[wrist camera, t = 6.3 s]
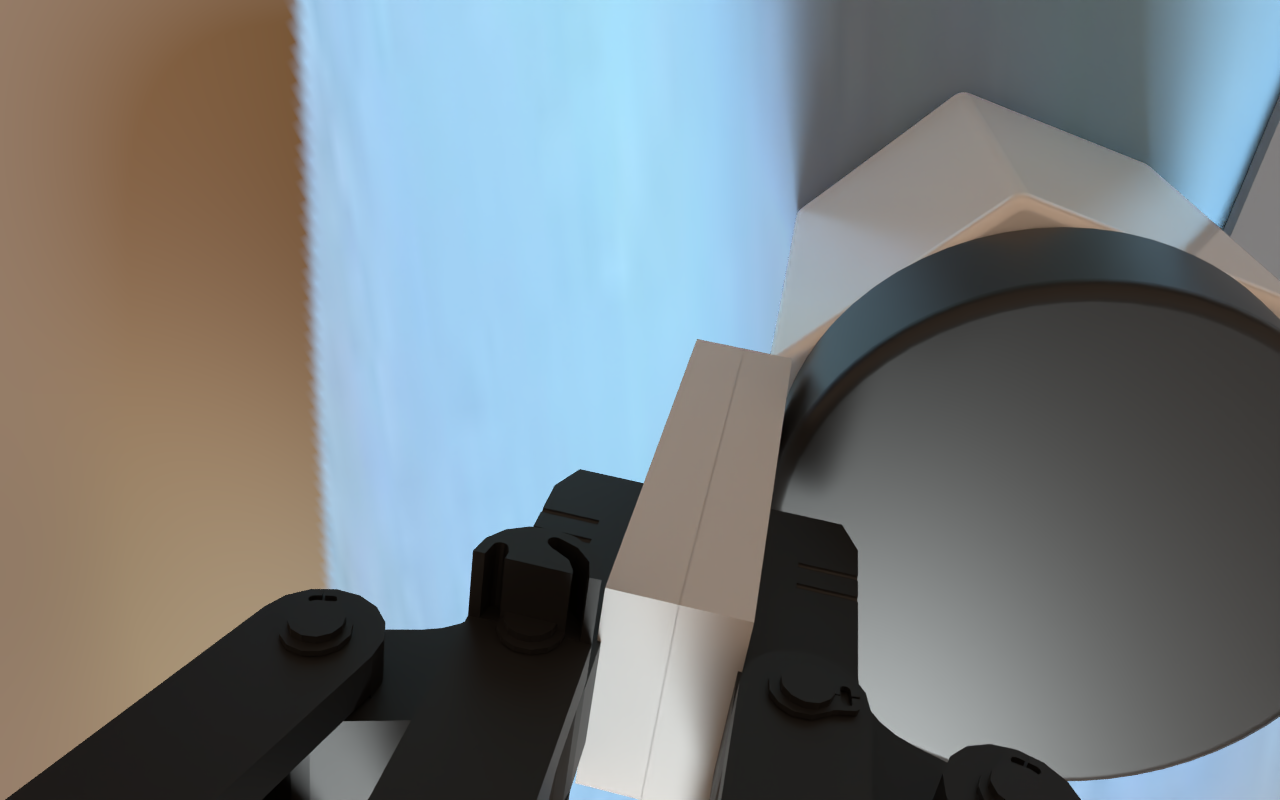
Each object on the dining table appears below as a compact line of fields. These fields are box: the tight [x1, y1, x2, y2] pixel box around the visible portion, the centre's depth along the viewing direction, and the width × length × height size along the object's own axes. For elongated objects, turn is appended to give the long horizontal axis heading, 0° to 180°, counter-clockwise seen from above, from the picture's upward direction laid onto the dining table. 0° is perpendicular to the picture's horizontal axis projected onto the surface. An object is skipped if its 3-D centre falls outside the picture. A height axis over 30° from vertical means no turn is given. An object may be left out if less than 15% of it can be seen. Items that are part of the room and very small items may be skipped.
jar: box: [770, 92, 1280, 781], centre depth 19 cm, size 9×8×12 cm
